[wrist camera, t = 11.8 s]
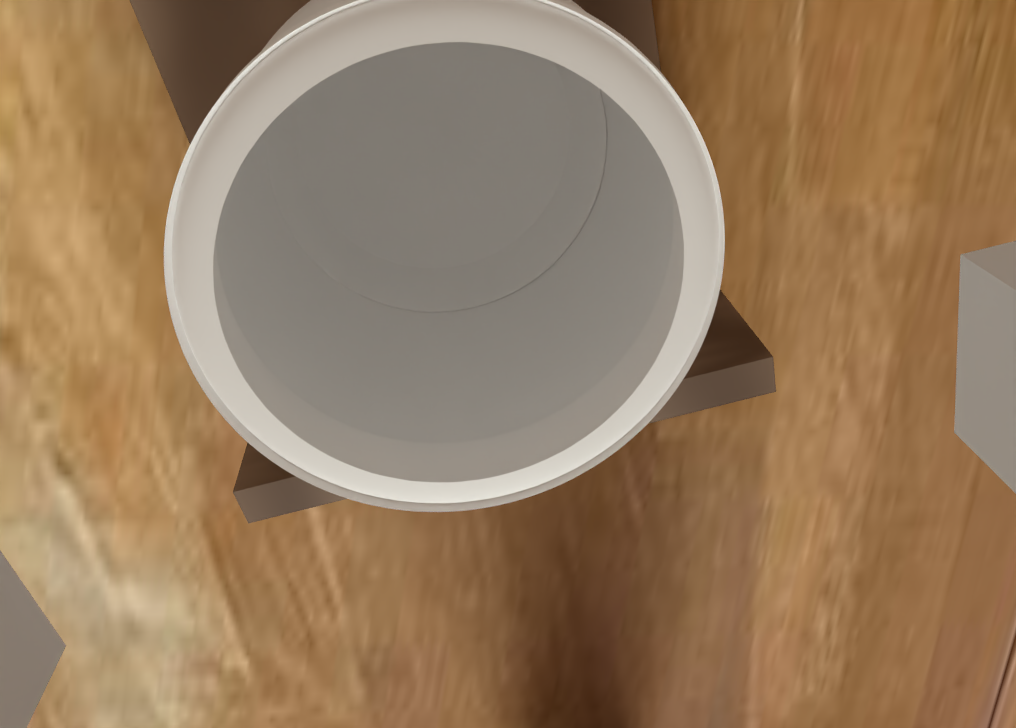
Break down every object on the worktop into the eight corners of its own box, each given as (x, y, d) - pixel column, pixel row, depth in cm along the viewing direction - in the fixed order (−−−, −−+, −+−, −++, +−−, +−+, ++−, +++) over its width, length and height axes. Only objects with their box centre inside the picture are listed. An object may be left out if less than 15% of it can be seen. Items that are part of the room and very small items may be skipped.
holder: (611, -229, 26) (718, -296, 17) (679, 261, 34) (776, 391, 25) (103, -93, 26) (-56, -88, 17) (290, 359, 34) (248, 523, 25)
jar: (471, 307, 32) (513, 585, 19) (220, 156, 29) (61, 372, 16) (648, 68, 29) (847, 210, 16) (386, -139, 25) (360, -179, 12)
